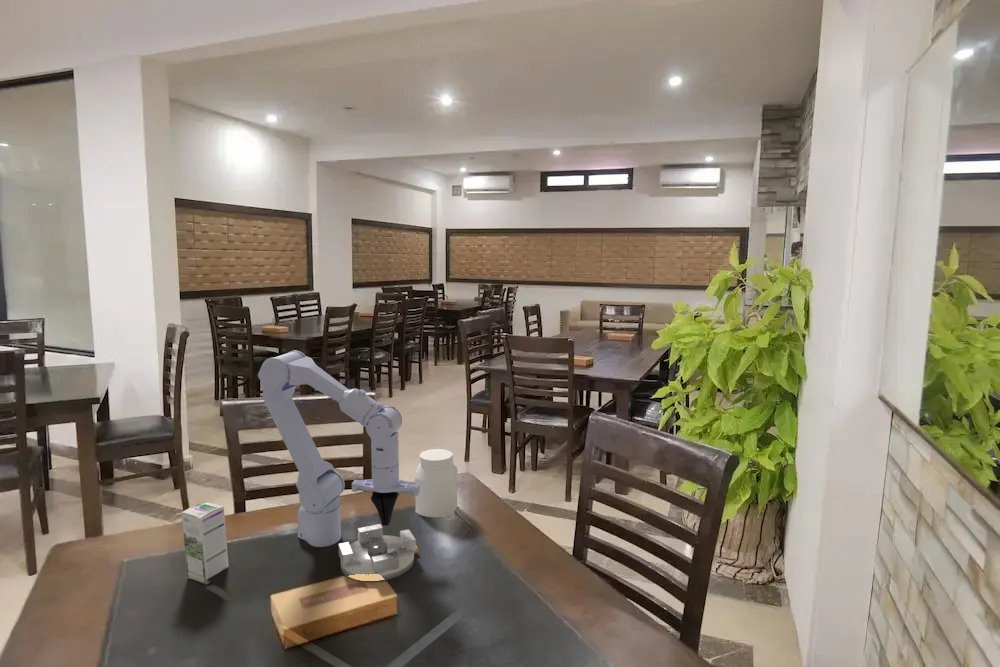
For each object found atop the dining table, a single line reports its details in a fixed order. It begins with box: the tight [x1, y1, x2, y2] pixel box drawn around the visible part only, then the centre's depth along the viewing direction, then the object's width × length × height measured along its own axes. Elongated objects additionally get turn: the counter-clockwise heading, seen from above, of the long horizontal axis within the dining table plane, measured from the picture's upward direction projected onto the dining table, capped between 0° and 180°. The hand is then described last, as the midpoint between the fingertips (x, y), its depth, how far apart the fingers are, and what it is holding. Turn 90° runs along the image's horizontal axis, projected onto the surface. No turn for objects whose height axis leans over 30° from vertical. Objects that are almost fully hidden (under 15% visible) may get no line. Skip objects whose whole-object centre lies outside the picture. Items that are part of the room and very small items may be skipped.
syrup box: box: [181, 501, 230, 585], centre depth 119 cm, size 6×6×14 cm
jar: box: [414, 448, 458, 519], centre depth 149 cm, size 12×10×15 cm
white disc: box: [338, 523, 419, 581], centre depth 124 cm, size 16×15×4 cm
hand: (386, 523), depth 129 cm, fingers closed
